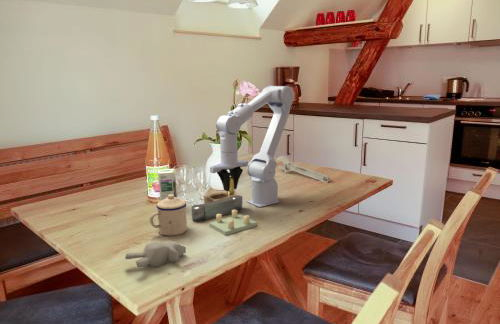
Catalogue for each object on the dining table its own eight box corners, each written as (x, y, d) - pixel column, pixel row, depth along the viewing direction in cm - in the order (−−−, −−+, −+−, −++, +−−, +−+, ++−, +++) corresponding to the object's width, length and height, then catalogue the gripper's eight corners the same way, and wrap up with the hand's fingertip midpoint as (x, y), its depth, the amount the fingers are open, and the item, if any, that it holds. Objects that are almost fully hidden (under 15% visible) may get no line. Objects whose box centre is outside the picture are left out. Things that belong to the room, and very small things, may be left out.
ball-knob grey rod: (237, 206, 146) (237, 194, 145) (245, 209, 143) (244, 197, 142) (189, 219, 135) (189, 206, 133) (196, 223, 131) (195, 209, 130)
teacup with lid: (178, 222, 132) (176, 188, 129) (193, 230, 125) (191, 195, 122) (144, 232, 124) (141, 196, 122) (158, 241, 118) (155, 204, 115)
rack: (240, 217, 135) (239, 207, 134) (256, 225, 128) (256, 215, 127) (209, 226, 128) (209, 215, 127) (225, 235, 121) (224, 224, 120)
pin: (231, 192, 140) (231, 176, 139) (235, 194, 138) (235, 177, 137) (225, 194, 139) (224, 177, 137) (229, 196, 137) (229, 179, 135)
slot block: (222, 199, 154) (222, 191, 154) (234, 204, 148) (233, 196, 148) (204, 203, 150) (204, 195, 149) (215, 209, 144) (215, 201, 143)
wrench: (326, 189, 174) (275, 170, 194) (329, 188, 175) (278, 169, 195) (329, 172, 172) (277, 154, 192) (331, 171, 173) (279, 154, 193)
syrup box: (161, 212, 141) (158, 173, 138) (160, 207, 147) (157, 169, 143) (177, 210, 143) (175, 171, 139) (176, 205, 148) (173, 167, 145)
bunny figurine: (192, 244, 106) (141, 257, 96) (191, 262, 107) (140, 277, 96) (172, 234, 113) (122, 245, 102) (171, 252, 113) (122, 264, 103)
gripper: (239, 146, 142) (240, 183, 146) (204, 152, 134) (206, 191, 137) (251, 149, 137) (252, 187, 140) (215, 155, 128) (217, 195, 132)
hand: (230, 189), depth 138 cm, fingers closed on pin, 3 cm apart
